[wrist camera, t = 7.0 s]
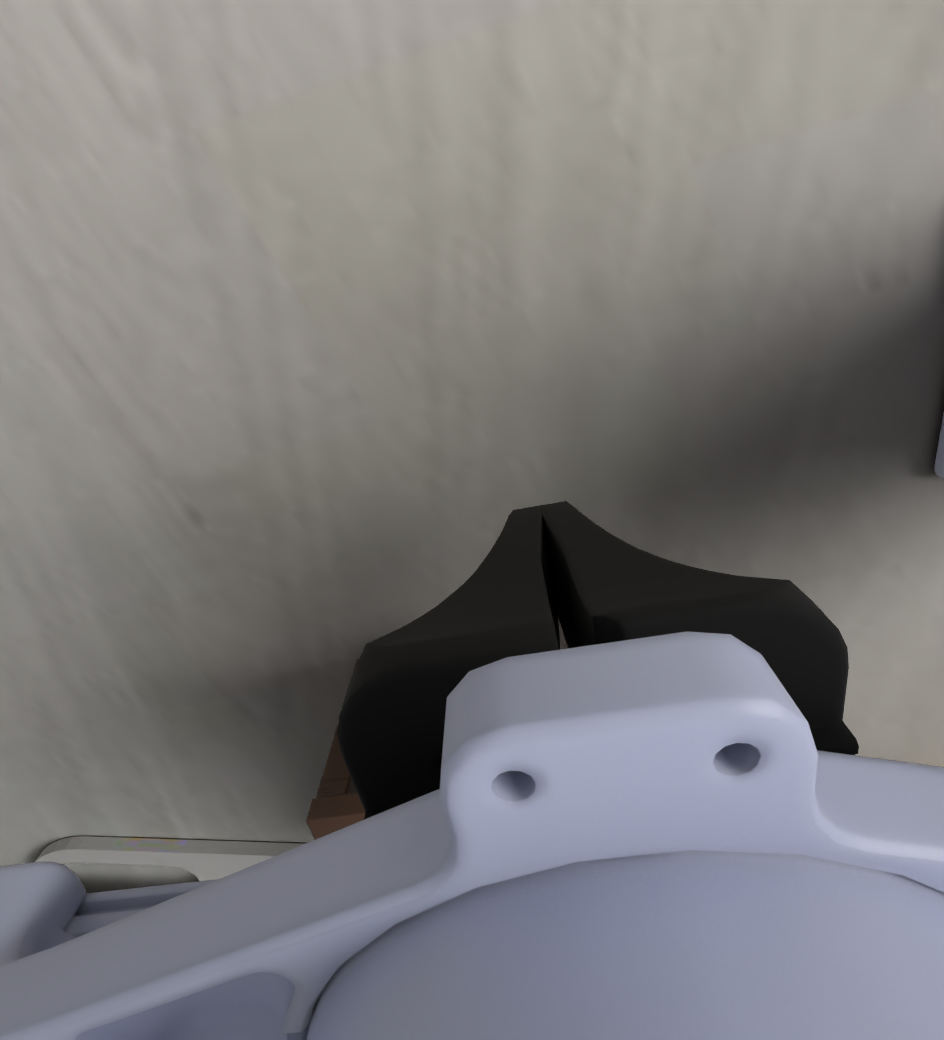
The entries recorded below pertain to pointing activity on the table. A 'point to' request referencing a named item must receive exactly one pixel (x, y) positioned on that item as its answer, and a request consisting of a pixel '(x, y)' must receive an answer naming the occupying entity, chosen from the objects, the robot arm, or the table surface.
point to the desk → (335, 797)
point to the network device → (165, 853)
